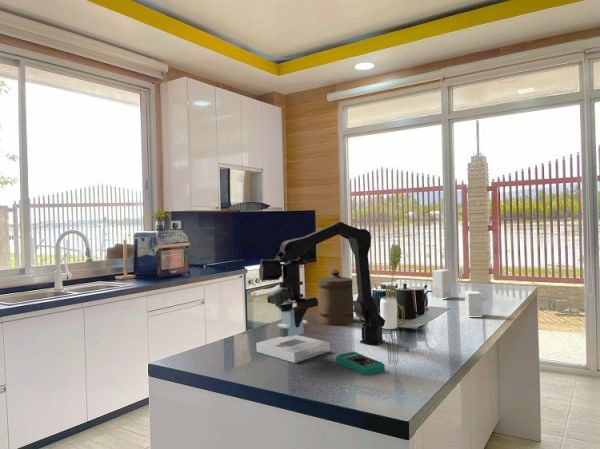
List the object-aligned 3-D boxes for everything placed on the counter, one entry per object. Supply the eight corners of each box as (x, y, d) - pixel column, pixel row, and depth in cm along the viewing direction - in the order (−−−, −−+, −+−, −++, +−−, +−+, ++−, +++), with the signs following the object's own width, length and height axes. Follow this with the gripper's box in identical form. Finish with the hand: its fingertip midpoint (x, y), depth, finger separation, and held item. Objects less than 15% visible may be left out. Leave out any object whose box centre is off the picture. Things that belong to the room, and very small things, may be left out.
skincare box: (441, 297, 246) (440, 268, 246) (452, 298, 241) (451, 269, 241) (432, 299, 241) (431, 270, 241) (443, 300, 235) (442, 270, 235)
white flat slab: (329, 351, 146) (329, 342, 146) (294, 362, 135) (294, 353, 135) (291, 342, 159) (291, 333, 159) (256, 351, 148) (256, 342, 148)
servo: (307, 332, 149) (306, 309, 149) (285, 337, 142) (285, 314, 142) (298, 330, 152) (298, 308, 152) (277, 335, 145) (276, 312, 145)
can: (390, 330, 173) (389, 299, 173) (377, 327, 178) (376, 297, 178) (400, 327, 177) (400, 297, 177) (387, 325, 182) (387, 295, 182)
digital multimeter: (365, 378, 122) (365, 367, 122) (335, 363, 135) (334, 353, 135) (386, 373, 125) (386, 362, 125) (354, 359, 138) (354, 350, 138)
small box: (482, 318, 190) (482, 293, 190) (469, 318, 191) (468, 293, 191) (478, 314, 198) (477, 290, 198) (465, 314, 199) (464, 290, 199)
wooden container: (343, 316, 201) (342, 267, 201) (360, 323, 187) (358, 270, 187) (313, 319, 196) (312, 269, 196) (327, 326, 182) (326, 272, 182)
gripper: (254, 279, 148) (255, 326, 148) (293, 283, 135) (294, 335, 135) (279, 276, 156) (280, 320, 156) (318, 279, 143) (320, 328, 143)
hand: (292, 326), depth 147 cm, fingers closed on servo, 4 cm apart
